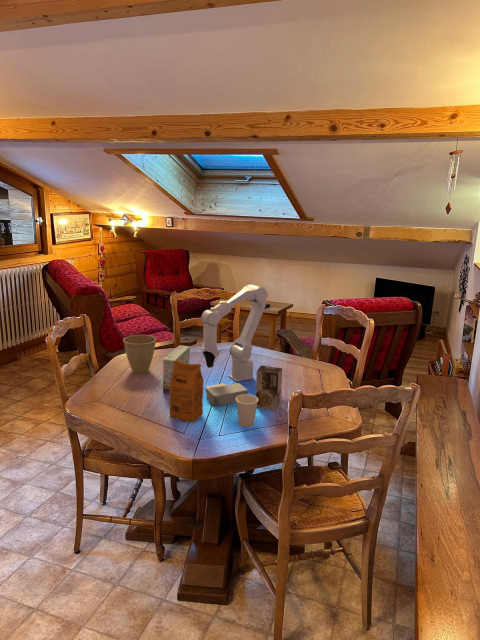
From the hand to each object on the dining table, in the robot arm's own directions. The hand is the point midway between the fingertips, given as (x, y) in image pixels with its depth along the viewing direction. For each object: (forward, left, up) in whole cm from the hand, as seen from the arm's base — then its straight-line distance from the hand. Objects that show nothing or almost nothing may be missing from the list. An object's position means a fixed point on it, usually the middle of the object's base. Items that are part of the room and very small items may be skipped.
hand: (209, 367), depth 204 cm
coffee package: (+21, +25, -9) cm, 33 cm away
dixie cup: (+3, +40, -9) cm, 41 cm away
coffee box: (-12, +31, -9) cm, 34 cm away
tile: (0, +12, -9) cm, 15 cm away
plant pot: (+23, -28, -9) cm, 38 cm away
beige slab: (0, +18, -8) cm, 19 cm away
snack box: (+13, -6, -9) cm, 17 cm away
